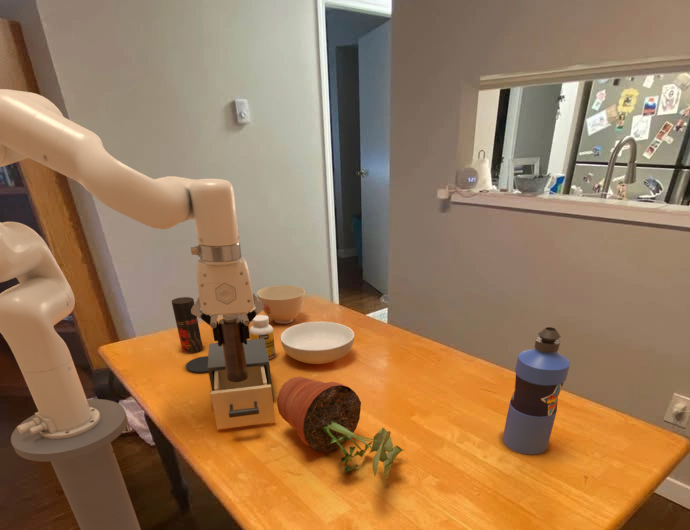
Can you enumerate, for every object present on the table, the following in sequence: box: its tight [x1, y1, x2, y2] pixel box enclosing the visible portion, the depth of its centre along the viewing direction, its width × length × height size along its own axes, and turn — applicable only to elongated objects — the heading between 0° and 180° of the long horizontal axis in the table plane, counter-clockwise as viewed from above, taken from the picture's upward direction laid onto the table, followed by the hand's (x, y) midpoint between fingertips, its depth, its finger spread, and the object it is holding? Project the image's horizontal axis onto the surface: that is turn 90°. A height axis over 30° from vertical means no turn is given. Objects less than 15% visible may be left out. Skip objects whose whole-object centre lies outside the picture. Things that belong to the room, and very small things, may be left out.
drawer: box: [210, 365, 276, 430], centre depth 102 cm, size 18×12×9 cm
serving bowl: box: [280, 320, 355, 365], centre depth 132 cm, size 21×21×7 cm
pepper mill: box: [218, 316, 248, 382], centre depth 97 cm, size 4×4×14 cm
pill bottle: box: [249, 314, 276, 360], centre depth 130 cm, size 6×6×12 cm
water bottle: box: [502, 326, 571, 456], centre depth 90 cm, size 9×9×25 cm
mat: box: [185, 355, 209, 374], centre depth 128 cm, size 10×10×1 cm
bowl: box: [256, 284, 306, 325], centre depth 156 cm, size 16×16×10 cm
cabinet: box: [207, 338, 274, 403], centre depth 113 cm, size 15×14×11 cm
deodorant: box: [171, 296, 204, 355], centre depth 134 cm, size 6×6×15 cm
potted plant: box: [276, 376, 404, 481], centre depth 88 cm, size 16×15×35 cm
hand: (232, 341), depth 96 cm, fingers closed on pepper mill, 4 cm apart
